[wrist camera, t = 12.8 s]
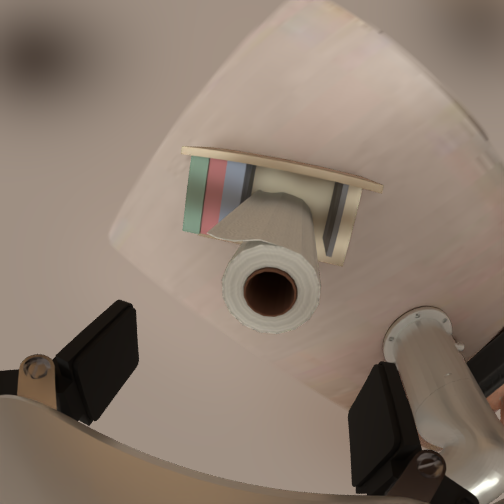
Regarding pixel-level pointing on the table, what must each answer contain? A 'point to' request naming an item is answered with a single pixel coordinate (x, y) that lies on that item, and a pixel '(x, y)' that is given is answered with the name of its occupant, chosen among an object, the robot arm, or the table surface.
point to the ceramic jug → (497, 401)
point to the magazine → (489, 366)
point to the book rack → (273, 180)
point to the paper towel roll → (271, 262)
